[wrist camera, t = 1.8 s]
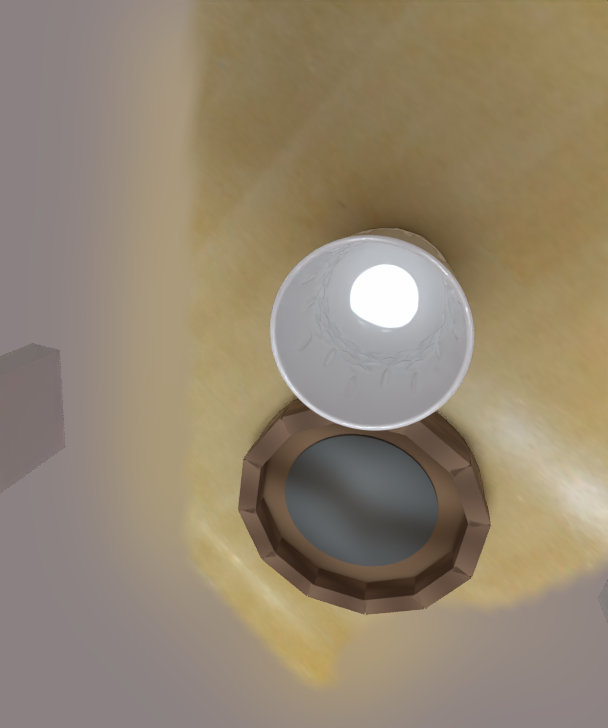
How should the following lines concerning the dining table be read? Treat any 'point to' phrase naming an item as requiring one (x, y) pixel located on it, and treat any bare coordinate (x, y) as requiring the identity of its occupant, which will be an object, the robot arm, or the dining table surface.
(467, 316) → the white cup
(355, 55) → the dining table surface
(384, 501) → the tray
